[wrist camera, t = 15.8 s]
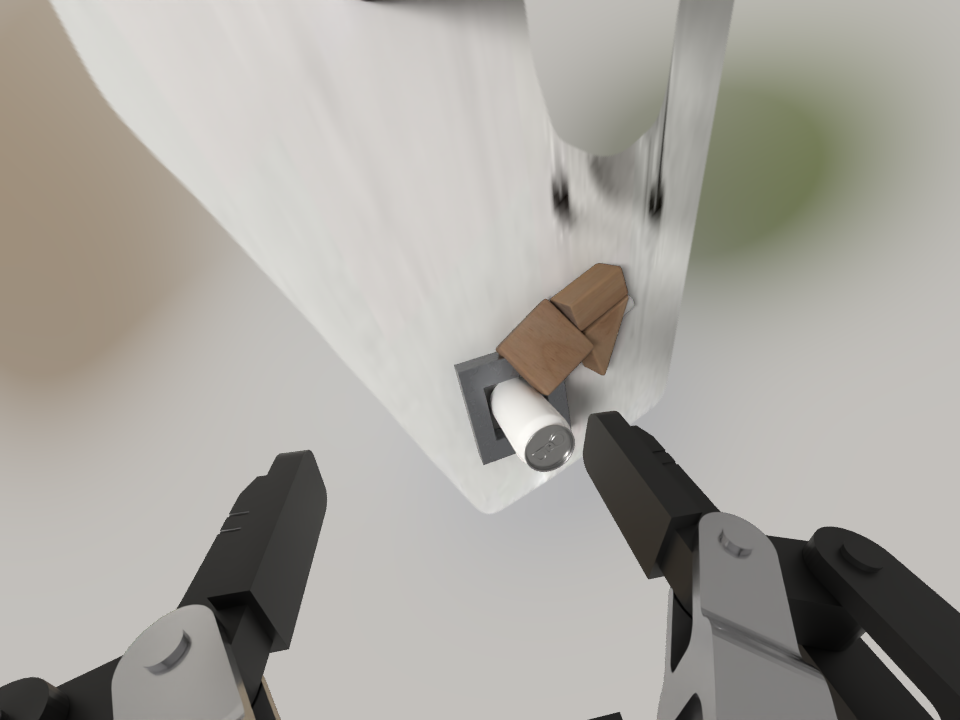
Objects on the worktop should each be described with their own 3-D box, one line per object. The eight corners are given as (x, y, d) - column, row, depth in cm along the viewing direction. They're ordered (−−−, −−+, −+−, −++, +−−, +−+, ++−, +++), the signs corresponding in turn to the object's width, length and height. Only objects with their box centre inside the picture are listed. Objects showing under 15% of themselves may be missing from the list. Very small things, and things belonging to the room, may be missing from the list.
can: (542, 396, 47) (589, 445, 36) (508, 427, 48) (544, 485, 37) (515, 366, 45) (556, 409, 34) (478, 399, 45) (508, 453, 34)
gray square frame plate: (454, 365, 42) (457, 372, 40) (549, 335, 44) (558, 340, 42) (479, 454, 48) (483, 465, 46) (563, 423, 50) (571, 432, 47)
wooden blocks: (616, 327, 50) (523, 403, 48) (591, 247, 43) (481, 331, 41) (660, 343, 44) (556, 431, 41) (640, 252, 37) (513, 351, 34)
